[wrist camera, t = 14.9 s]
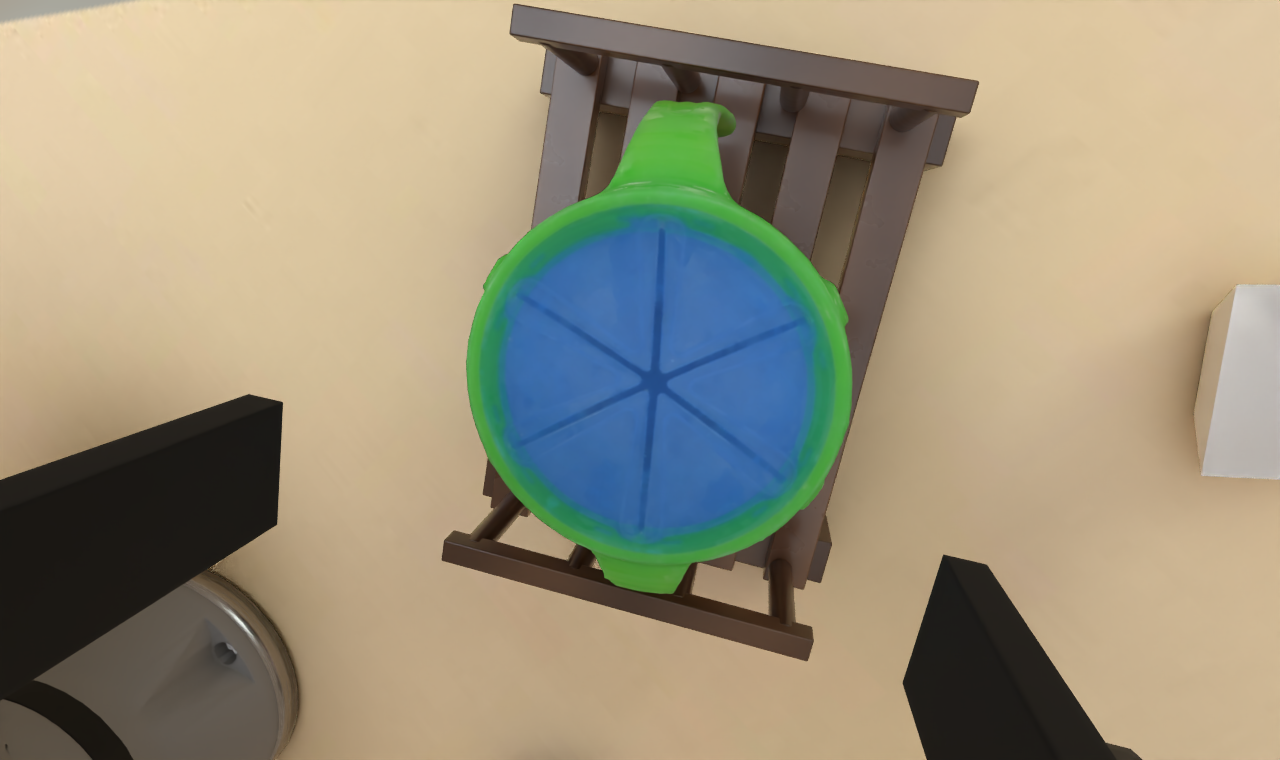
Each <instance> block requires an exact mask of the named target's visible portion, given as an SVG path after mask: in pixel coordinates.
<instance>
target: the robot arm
mask: <svg viewBox="0 0 1280 760" xmlns="http://www.w3.org/2000/svg"><path fill="white" fill-rule="evenodd" d="M282 411H283V402H280V401H276V400H271V399H267V398H263V397H258V396H254V395H250V394H248V395H245V396H242V397H239V398H237V399H234V400H231V401H228V402H225V403H222V404H219V405H216V406H213V407H210V408H208V409H205V410H202V411H199V412H196V413H193V414H190V415H187V416H184V417H181V418H179V419H176V420H173V421H170V422H167V423H164V424H161V425H158V426H155V427H152V428H150V429H147V430H144V431H141V432H138V433H135V434H132V435H129V436H126V437H123V438H121V439H118V440H115V441H112V442H109V443H106V444H103V445H100V446H97V447H94V448H92V449H89V450H86V451H83V452H80V453H77V454H74V455H71V456H68V457H65V458H63V459H60V460H57V461H54V462H51V463H48V464H45V465H42V466H39V467H37V468H34V469H31V470H28V471H25V472H22V473H19V474H16V475H13V476H10V477H8V478H5V479H2V480H0V760H275V759H276V758H277V757H278V755H279V754H280V753H281V752H282V751H283V749H284V748H285V746H286V745H287V743H288V741H289V739H290V737H291V735H292V732H293V730H294V727H295V723H296V719H297V711H298V691H297V683H296V678H295V673H294V670H293V666H292V663H291V661H290V658H289V655H288V653H287V651H286V649H285V647H284V644H283V642H282V641H281V639H280V637H279V635H278V634H277V632H276V630H275V629H274V628H273V626H272V625H271V623H270V622H269V620H268V619H267V618H266V617H265V615H264V614H263V613H262V612H261V611H260V610H259V608H258V607H257V606H256V605H255V604H254V603H253V602H252V601H251V600H250V599H249V598H247V597H246V596H245V595H244V594H243V593H242V592H241V591H239V590H238V589H237V588H235V587H234V586H233V585H231V584H230V583H228V582H227V581H225V580H224V579H222V578H221V577H219V576H217V575H215V574H213V573H212V572H210V571H207V570H206V569H208V568H210V567H211V566H213V565H214V564H216V563H217V562H219V561H221V560H222V559H224V558H225V557H227V556H228V555H230V554H232V553H233V552H235V551H236V550H238V549H239V548H241V547H243V546H244V545H246V544H247V543H249V542H250V541H252V540H253V539H255V538H257V537H258V536H260V535H261V534H263V533H264V532H266V531H268V530H269V529H271V528H272V527H274V526H275V525H277V517H278V496H279V474H280V453H281V432H282ZM903 686H904V689H905V692H906V695H907V698H908V702H909V705H910V708H911V711H912V714H913V718H914V721H915V724H916V727H917V730H918V733H919V737H920V740H921V743H922V746H923V749H924V752H925V756H926V759H927V760H1142V759H1141V758H1140V757H1139V756H1138V755H1137V754H1136V753H1134V752H1133V751H1132V750H1131V749H1128V748H1124V747H1120V746H1116V745H1112V744H1109V743H1105V741H1104V740H1103V738H1102V737H1101V735H1100V734H1099V732H1098V731H1097V729H1096V728H1095V726H1094V725H1093V723H1092V722H1091V720H1090V719H1089V717H1088V716H1087V714H1086V713H1085V711H1084V710H1083V708H1082V707H1081V705H1080V704H1079V702H1078V701H1077V699H1076V698H1075V696H1074V695H1073V693H1072V692H1071V690H1070V689H1069V687H1068V686H1067V684H1066V683H1065V681H1064V680H1063V678H1062V677H1061V675H1060V674H1059V672H1058V671H1057V669H1056V668H1055V666H1054V665H1053V663H1052V662H1051V660H1050V659H1049V657H1048V656H1047V654H1046V653H1045V651H1044V650H1043V648H1042V647H1041V645H1040V644H1039V642H1038V641H1037V639H1036V638H1035V636H1034V635H1033V633H1032V632H1031V630H1030V629H1029V627H1028V626H1027V624H1026V623H1025V621H1024V620H1023V618H1022V617H1021V615H1020V614H1019V612H1018V611H1017V609H1016V608H1015V606H1014V605H1013V603H1012V602H1011V600H1010V599H1009V597H1008V596H1007V594H1006V593H1005V591H1004V590H1003V588H1002V587H1001V585H1000V584H999V582H998V581H997V579H996V578H995V576H994V575H993V573H992V572H991V570H990V569H989V567H988V566H987V565H986V564H982V563H977V562H973V561H969V560H964V559H960V558H956V557H951V556H947V555H943V557H942V560H941V564H940V567H939V570H938V573H937V576H936V579H935V583H934V586H933V589H932V592H931V595H930V598H929V601H928V605H927V608H926V611H925V614H924V617H923V620H922V623H921V627H920V630H919V633H918V636H917V639H916V642H915V645H914V649H913V652H912V655H911V658H910V661H909V664H908V668H907V671H906V674H905V677H904V680H903Z"/></svg>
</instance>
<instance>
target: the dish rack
mask: <svg viewBox="0 0 1280 760" xmlns="http://www.w3.org/2000/svg"><path fill="white" fill-rule="evenodd" d="M510 35H512V36H513V37H514V38H516V39H517V40H519V41H521V42H527V43H533V44H538V45H542V46H543V47H544V48H546V54H545V61H544V68H543V75H542V82H541V89H540V93H541V94H543V95H545V96H547V97H549V98H550V104H549V111H548V117H547V124H546V131H545V138H544V145H543V152H542V158H541V165H540V172H539V179H538V186H537V193H536V199H535V206H534V213H533V220H532V227H531V230H532V229H533V228H534V227H536V226H537V225H538V224H540V223H541V222H543V221H544V220H546V219H547V218H548V217H550V216H552V215H554V214H555V213H557V212H559V211H560V210H562V209H564V208H566V207H568V206H570V205H572V204H575V203H577V202H580V201H582V200H585V196H586V190H587V184H588V178H589V172H590V166H591V160H592V154H593V147H594V141H595V135H596V129H597V123H598V117H599V112H605V113H610V114H616V115H621V116H626V117H627V121H626V127H625V133H624V138H623V144H622V150H621V156H620V161H619V164H620V162H621V160H622V157H623V155H624V153H625V151H626V148H627V146H628V144H629V143H630V141H631V139H632V137H633V135H634V133H635V131H636V129H637V127H638V125H639V123H640V122H641V121H642V119H643V117H644V116H645V115H646V114H647V112H648V111H649V110H650V108H651V107H652V106H653V104H654V103H656V102H657V101H663V100H668V101H675V102H693V103H702V102H710V103H715V104H720V105H722V106H724V107H725V108H726V109H728V110H729V111H730V112H731V113H732V114H733V115H734V117H735V120H736V128H735V130H734V132H733V133H732V134H730V135H728V136H725V137H718V147H719V153H720V159H721V165H722V172H723V179H724V183H725V186H726V188H727V191H728V193H729V194H730V196H731V198H732V199H733V200H734V201H735V202H736V203H737V204H738V205H740V203H741V199H742V194H743V190H744V185H745V181H746V176H747V172H748V167H749V163H750V158H751V154H752V149H753V145H754V140H757V141H762V142H768V143H773V144H778V145H784V146H789V148H788V153H787V157H786V161H785V165H784V170H783V174H782V178H781V183H780V187H779V191H778V195H777V200H776V204H775V208H774V212H773V217H772V221H771V225H773V226H774V227H775V228H776V229H777V230H779V231H780V232H781V233H782V234H783V235H785V236H786V237H787V238H788V239H789V240H790V241H791V242H792V243H793V244H794V245H795V246H796V247H797V248H798V249H799V250H800V251H801V252H802V253H803V254H804V255H805V256H806V257H807V258H808V259H809V260H810V261H811V257H812V253H813V249H814V245H815V241H816V237H817V233H818V229H819V225H820V221H821V217H822V213H823V210H824V206H825V202H826V198H827V194H828V190H829V186H830V182H831V178H832V174H833V170H834V166H835V162H836V158H837V155H838V156H844V157H849V158H854V159H860V160H865V161H871V163H870V167H869V171H868V175H867V178H866V182H865V186H864V190H863V194H862V197H861V201H860V205H859V209H858V212H857V216H856V220H855V224H854V227H853V231H852V235H851V239H850V243H849V246H848V250H847V254H846V258H845V261H844V265H843V269H842V273H841V276H840V280H839V284H838V288H837V291H838V293H839V295H840V298H841V300H842V303H843V305H844V307H845V310H846V312H847V315H848V323H847V324H846V326H845V332H846V335H847V340H848V345H849V351H850V357H851V366H852V405H851V412H850V418H849V425H848V429H847V431H846V433H845V435H844V439H843V443H842V445H841V447H840V449H839V452H838V454H837V456H836V459H835V461H834V463H833V465H832V467H831V469H830V471H829V473H828V474H827V476H826V478H825V481H824V485H823V487H822V489H821V490H820V491H819V493H818V495H817V496H816V497H815V498H814V499H813V500H812V501H811V502H810V504H809V505H808V506H807V507H806V508H805V509H803V510H799V511H798V512H797V513H796V514H795V515H794V516H793V517H792V518H791V519H790V520H789V521H788V522H787V523H786V524H785V525H783V526H782V527H781V528H780V529H779V530H777V531H776V532H774V533H773V534H771V535H770V536H768V537H766V538H765V539H764V540H763V541H759V542H757V543H755V544H753V545H751V546H750V547H748V548H745V549H743V550H740V551H738V552H735V553H733V554H729V555H726V556H723V557H720V558H716V559H713V560H709V561H703V562H699V563H703V564H707V565H711V566H715V567H718V568H722V569H726V570H730V571H732V570H733V566H734V562H735V561H738V562H742V563H746V564H749V565H753V566H757V567H761V568H763V579H764V580H768V590H769V615H766V614H763V613H759V612H755V611H751V610H748V609H744V608H740V607H737V606H733V605H729V604H726V603H722V602H718V601H714V600H711V599H707V598H703V597H700V596H696V595H692V590H693V585H694V580H695V575H696V570H697V565H698V562H695V563H691V565H690V566H689V568H688V569H687V571H686V573H685V574H684V576H683V578H682V580H681V582H680V583H679V585H678V586H677V588H676V590H675V592H674V593H672V594H667V593H666V594H658V593H650V592H642V591H636V590H632V589H628V588H624V587H620V586H616V585H615V584H614V583H612V582H611V581H610V580H608V579H606V578H604V573H603V571H602V570H599V569H596V568H592V567H593V565H594V563H595V561H596V556H595V555H594V554H593V553H592V550H590V549H587V548H586V547H583V546H581V545H578V544H576V546H575V547H574V549H573V551H572V553H571V554H570V556H569V558H568V559H567V561H566V560H562V559H559V558H555V557H551V556H548V555H544V554H540V553H536V552H533V551H529V550H525V549H522V548H518V547H514V546H510V545H507V544H503V543H499V542H497V541H498V540H499V539H500V538H501V536H502V535H503V534H504V533H505V532H506V530H507V529H508V528H509V527H510V526H511V524H512V523H513V522H514V521H515V520H516V518H517V517H518V516H519V515H521V516H524V517H528V515H529V514H530V513H531V511H530V510H529V509H528V508H526V507H525V506H524V505H523V503H522V502H521V501H520V500H519V499H518V498H517V497H516V496H515V495H514V494H513V493H512V491H511V490H510V489H509V487H508V486H507V485H506V484H505V482H504V481H503V480H502V478H501V477H500V475H499V474H498V472H497V471H496V469H495V467H494V466H493V465H492V464H491V462H490V461H489V459H488V461H487V468H486V475H485V482H484V489H483V495H485V496H489V497H492V500H491V508H494V509H493V511H492V512H491V513H490V514H489V515H488V516H487V517H486V518H485V519H484V520H483V521H482V522H481V523H480V524H479V525H478V527H477V528H476V529H475V530H474V531H473V532H472V533H471V534H466V533H462V532H459V531H453V532H452V533H451V534H450V535H449V536H448V537H447V538H446V539H445V540H444V546H443V553H442V561H445V562H449V563H453V564H456V565H460V566H463V567H467V568H471V569H474V570H478V571H482V572H485V573H489V574H492V575H496V576H500V577H503V578H507V579H511V580H514V581H518V582H521V583H525V584H529V585H532V586H536V587H540V588H543V589H547V590H550V591H554V592H558V593H561V594H565V595H568V596H572V597H576V598H579V599H583V600H587V601H590V602H594V603H597V604H601V605H605V606H608V607H612V608H616V609H619V610H623V611H626V612H630V613H634V614H637V615H641V616H645V617H648V618H652V619H655V620H659V621H663V622H666V623H670V624H674V625H677V626H681V627H684V628H688V629H692V630H695V631H699V632H702V633H706V634H710V635H713V636H717V637H721V638H724V639H728V640H731V641H735V642H739V643H742V644H746V645H750V646H753V647H757V648H760V649H764V650H768V651H771V652H775V653H779V654H782V655H786V656H789V657H793V658H797V659H800V660H804V661H808V659H809V656H810V652H811V649H812V645H813V642H814V639H813V630H812V627H811V626H807V625H803V624H800V623H796V617H795V603H794V589H793V587H794V588H798V589H802V590H804V588H805V584H806V581H807V580H811V581H814V582H818V583H821V580H822V577H823V573H824V570H825V566H826V563H827V560H828V556H829V553H830V549H831V546H832V542H831V537H830V532H829V527H828V522H827V517H826V515H825V514H826V511H827V507H828V504H829V500H830V497H831V493H832V490H833V486H834V483H835V479H836V476H837V472H838V469H839V465H840V462H841V458H842V455H843V451H844V447H845V444H846V440H847V437H848V433H849V430H850V426H851V423H852V419H853V416H854V412H855V409H856V405H857V402H858V398H859V395H860V391H861V388H862V384H863V381H864V377H865V374H866V370H867V367H868V363H869V360H870V356H871V353H872V349H873V346H874V342H875V339H876V335H877V332H878V328H879V325H880V321H881V318H882V314H883V311H884V307H885V304H886V300H887V297H888V293H889V290H890V286H891V283H892V279H893V276H894V272H895V269H896V265H897V262H898V258H899V255H900V251H901V248H902V244H903V241H904V237H905V234H906V230H907V227H908V223H909V220H910V216H911V213H912V209H913V206H914V202H915V199H916V195H917V192H918V188H919V185H920V181H921V178H922V174H923V171H927V170H930V169H934V168H937V167H941V166H942V165H943V162H944V158H945V155H946V151H947V148H948V145H949V141H950V138H951V134H952V131H953V127H954V124H955V121H956V117H959V118H962V117H964V116H966V115H968V114H969V113H970V112H971V108H972V105H973V102H974V98H975V95H976V91H977V88H978V85H979V81H976V80H970V79H964V78H958V77H952V76H946V75H940V74H934V73H928V72H922V71H916V70H910V69H904V68H898V67H892V66H886V65H880V64H874V63H868V62H862V61H856V60H850V59H844V58H838V57H832V56H826V55H820V54H814V53H808V52H802V51H796V50H790V49H784V48H778V47H772V46H766V45H760V44H754V43H748V42H742V41H736V40H730V39H724V38H718V37H712V36H706V35H700V34H694V33H688V32H682V31H676V30H670V29H664V28H658V27H652V26H646V25H640V24H634V23H628V22H622V21H616V20H610V19H604V18H598V17H592V16H586V15H580V14H574V13H568V12H562V11H556V10H550V9H544V8H538V7H532V6H526V5H520V4H513V11H512V18H511V26H510Z"/></svg>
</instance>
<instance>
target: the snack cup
mask: <svg viewBox="0 0 1280 760" xmlns="http://www.w3.org/2000/svg"><path fill="white" fill-rule="evenodd" d="M735 128H736V120H735V117H734V115H733V114H732V113H731V112H730V111H729V110H728V109H726V108H725V107H724V106H722V105H720V104H715V103H710V102H702V103H693V102H675V101H668V100H663V101H657V102H656V103H654V104H653V106H652V107H651V108H650V110H649V111H648V112H647V114H646V115H645V116H644V117H643V119H642V121H641V122H640V123H639V125H638V127H637V129H636V131H635V133H634V135H633V137H632V139H631V141H630V143H629V144H628V146H627V148H626V151H625V153H624V155H623V157H622V160H621V162H620V164H619V166H618V169H617V171H616V173H615V175H614V177H613V178H612V180H611V182H610V184H609V185H608V186H607V187H606V188H605V189H604V190H603V191H602V192H601V193H599V194H597V195H595V196H592V197H590V198H587V199H585V200H582V201H580V202H577V203H575V204H572V205H570V206H568V207H566V208H564V209H562V210H560V211H559V212H557V213H555V214H554V215H552V216H550V217H548V218H547V219H546V220H544V221H543V222H541V223H540V224H538V225H537V226H536V227H534V228H533V229H532V230H531V231H529V232H528V233H527V234H526V235H525V236H524V237H523V238H522V239H521V240H520V241H519V242H518V243H517V244H516V245H515V246H514V247H513V249H512V250H511V251H510V252H509V253H508V254H506V255H504V256H503V257H501V258H499V259H498V260H497V262H496V264H495V266H494V267H493V269H492V270H491V272H490V274H489V276H488V277H487V280H486V282H485V283H484V285H483V289H484V290H485V291H484V294H483V296H482V298H481V300H480V303H479V305H478V307H477V310H476V313H475V316H474V320H473V324H472V328H471V332H470V336H469V340H468V350H467V360H466V370H467V386H468V394H469V400H470V406H471V410H472V414H473V417H474V421H475V425H476V428H477V430H478V433H479V436H480V439H481V442H482V444H483V446H484V449H485V451H486V454H487V457H488V459H489V461H490V462H491V464H492V465H493V466H494V467H495V469H496V471H497V472H498V474H499V475H500V477H501V478H502V480H503V481H504V482H505V484H506V485H507V486H508V487H509V489H510V490H511V491H512V493H513V494H514V495H515V496H516V497H517V498H518V499H519V500H520V501H521V502H522V503H523V505H524V506H525V507H526V508H528V509H529V510H530V511H531V512H532V513H533V514H534V515H535V516H536V517H537V518H538V519H539V520H541V521H542V522H544V523H545V524H546V525H548V526H549V527H550V528H552V529H553V530H555V531H556V532H558V533H559V534H561V535H562V536H564V537H565V538H567V539H569V540H571V541H573V542H574V543H576V544H578V545H581V546H583V547H586V548H587V549H590V550H592V553H593V554H594V555H595V556H596V559H597V561H598V563H599V565H600V567H601V569H602V571H603V573H604V578H606V579H608V580H610V581H611V582H612V583H614V584H615V585H616V586H620V587H624V588H628V589H632V590H636V591H642V592H650V593H658V594H666V593H667V594H672V593H674V592H675V590H676V588H677V586H678V585H679V583H680V582H681V580H682V578H683V576H684V574H685V573H686V571H687V569H688V568H689V566H690V565H691V563H695V562H703V561H709V560H713V559H716V558H720V557H723V556H726V555H729V554H733V553H735V552H738V551H740V550H743V549H745V548H748V547H750V546H751V545H753V544H755V543H757V542H759V541H763V540H764V539H765V538H766V537H768V536H770V535H771V534H773V533H774V532H776V531H777V530H779V529H780V528H781V527H782V526H783V525H785V524H786V523H787V522H788V521H789V520H790V519H791V518H792V517H793V516H794V515H795V514H796V513H797V512H798V511H799V510H803V509H805V508H806V507H807V506H808V505H809V504H810V502H811V501H812V500H813V499H814V498H815V497H816V496H817V495H818V493H819V491H820V490H821V489H822V487H823V485H824V481H825V478H826V476H827V474H828V473H829V471H830V469H831V467H832V465H833V463H834V461H835V459H836V456H837V454H838V452H839V449H840V447H841V445H842V443H843V439H844V435H845V433H846V431H847V429H848V425H849V418H850V412H851V405H852V366H851V357H850V351H849V345H848V340H847V335H846V332H845V326H846V324H847V323H848V315H847V312H846V310H845V307H844V305H843V303H842V300H841V298H840V295H839V293H838V291H837V288H836V287H835V285H834V284H833V283H831V282H830V281H827V280H825V279H824V278H822V277H821V276H820V275H819V273H818V272H817V270H816V269H815V268H814V266H813V265H812V263H811V262H810V260H809V259H808V258H807V257H806V256H805V255H804V254H803V253H802V252H801V251H800V250H799V249H798V248H797V247H796V246H795V245H794V244H793V243H792V242H791V241H790V240H789V239H788V238H787V237H786V236H785V235H783V234H782V233H781V232H780V231H779V230H777V229H776V228H775V227H774V226H773V225H771V224H770V223H768V222H767V221H766V220H764V219H763V218H761V217H759V216H758V215H756V214H754V213H752V212H750V211H748V210H747V209H745V208H743V207H742V206H740V205H738V204H737V203H736V202H735V201H734V200H733V199H732V198H731V196H730V194H729V193H728V191H727V188H726V186H725V183H724V179H723V172H722V165H721V159H720V153H719V147H718V137H725V136H728V135H730V134H732V133H733V132H734V130H735Z"/></svg>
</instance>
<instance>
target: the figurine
mask: <svg viewBox="0 0 1280 760" xmlns="http://www.w3.org/2000/svg"><path fill="white" fill-rule="evenodd" d="M1193 415H1194V423H1195V431H1196V439H1197V448H1198V456H1199V464H1200V472H1201V476H1216V477H1236V478H1256V479H1277V480H1280V285H1247V284H1237V285H1236V286H1235V287H1234V288H1233V289H1232V290H1231V291H1230V292H1229V293H1228V295H1227V296H1226V297H1225V298H1224V299H1223V300H1222V301H1221V302H1220V303H1219V305H1218V306H1217V307H1216V308H1215V309H1214V310H1213V311H1212V314H1211V319H1210V325H1209V330H1208V336H1207V342H1206V347H1205V353H1204V358H1203V364H1202V369H1201V375H1200V380H1199V386H1198V392H1197V397H1196V403H1195V408H1194V414H1193Z"/></svg>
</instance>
